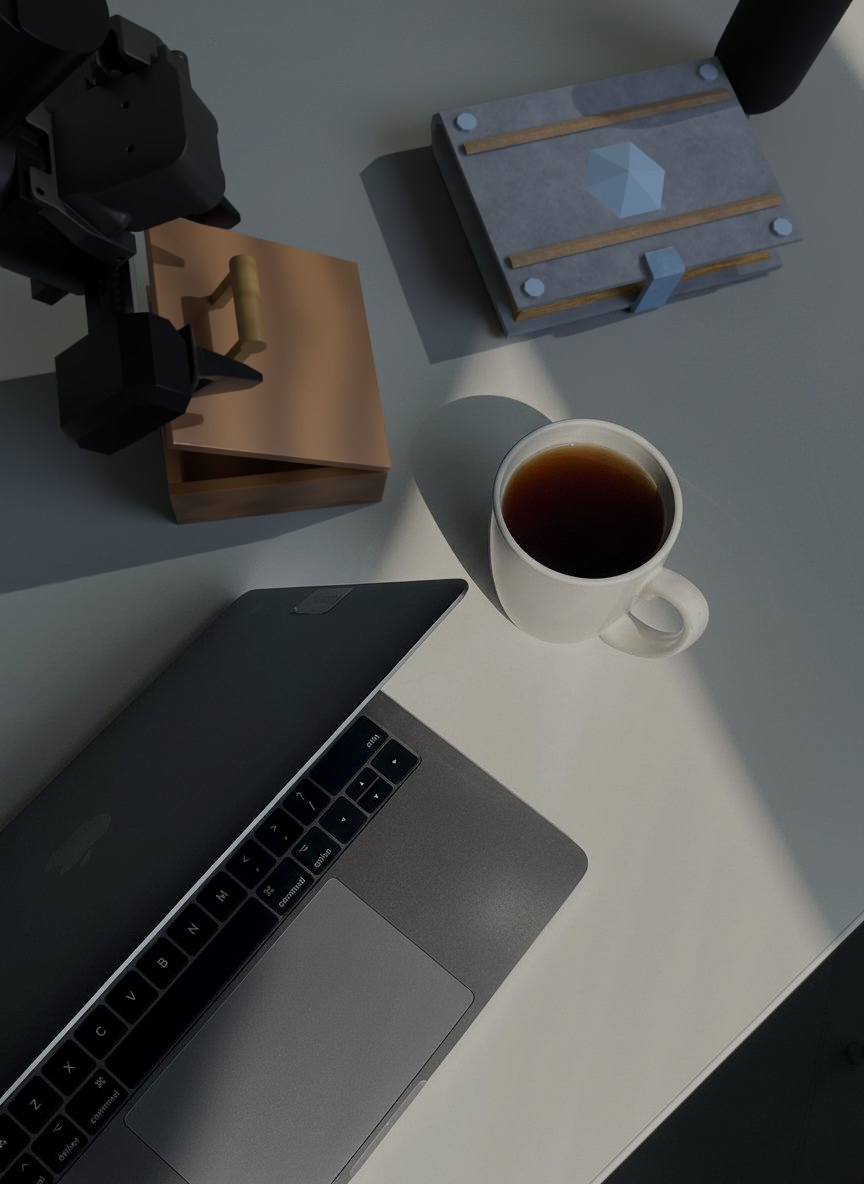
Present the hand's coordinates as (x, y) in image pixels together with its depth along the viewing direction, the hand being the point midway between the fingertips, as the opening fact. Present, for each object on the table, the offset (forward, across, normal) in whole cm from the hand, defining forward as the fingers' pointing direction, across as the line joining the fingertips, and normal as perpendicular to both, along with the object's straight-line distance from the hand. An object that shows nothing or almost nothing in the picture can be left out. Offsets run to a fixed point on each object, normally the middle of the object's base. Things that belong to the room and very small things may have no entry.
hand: (246, 300), depth 53 cm
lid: (+5, 0, +3) cm, 5 cm away
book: (+28, +13, -9) cm, 32 cm away
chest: (+10, 0, +9) cm, 13 cm away
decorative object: (+37, +22, -18) cm, 46 cm away
